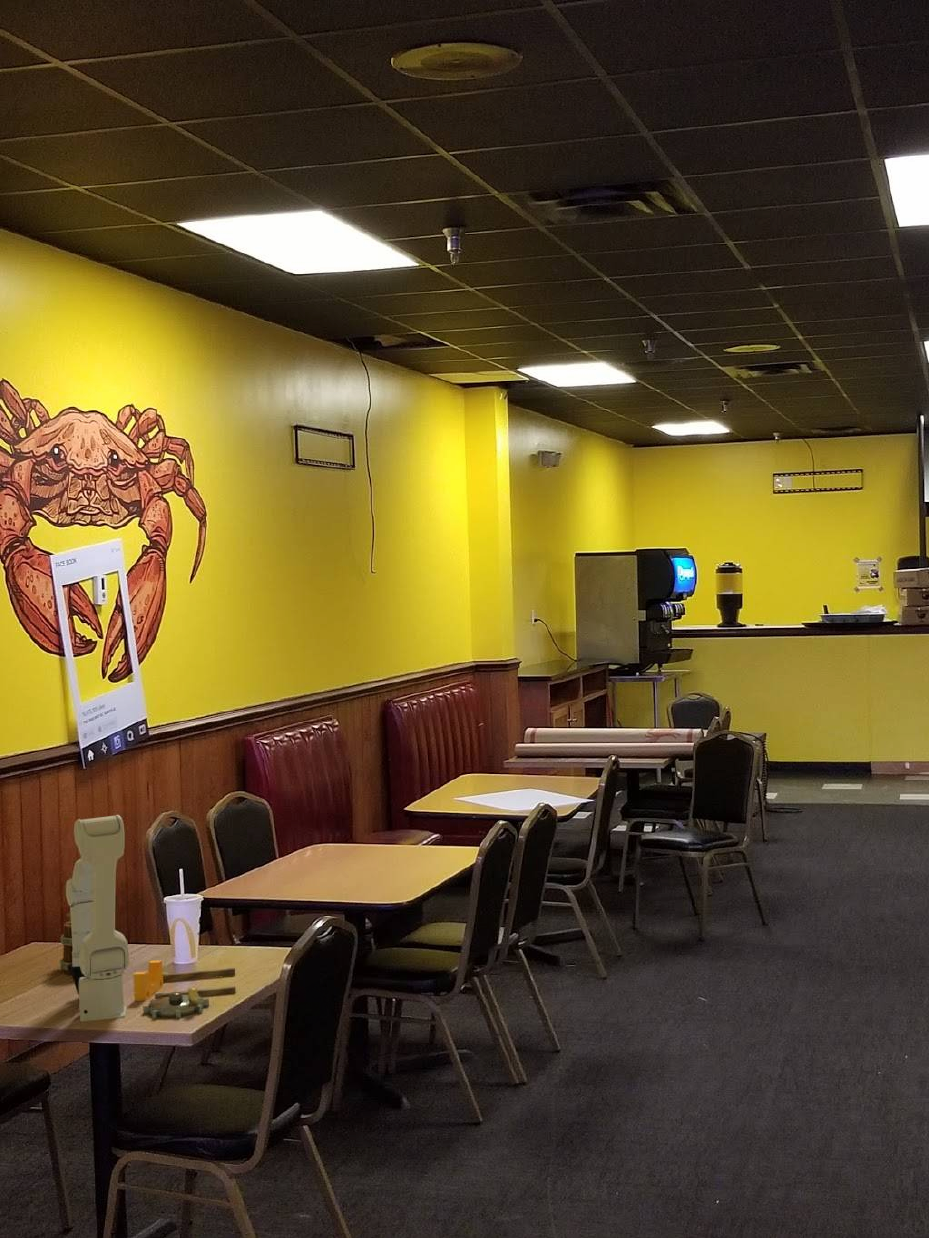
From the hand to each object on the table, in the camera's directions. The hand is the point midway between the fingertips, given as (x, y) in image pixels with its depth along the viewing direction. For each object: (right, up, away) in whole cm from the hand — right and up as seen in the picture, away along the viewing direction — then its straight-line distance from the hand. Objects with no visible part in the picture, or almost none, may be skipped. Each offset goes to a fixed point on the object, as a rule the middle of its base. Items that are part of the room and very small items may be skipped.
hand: (87, 989), depth 332 cm
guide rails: (+24, -1, +4) cm, 25 cm away
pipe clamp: (+13, -2, +1) cm, 13 cm away
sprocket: (+23, -1, -14) cm, 27 cm away
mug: (-9, -2, +28) cm, 29 cm away
